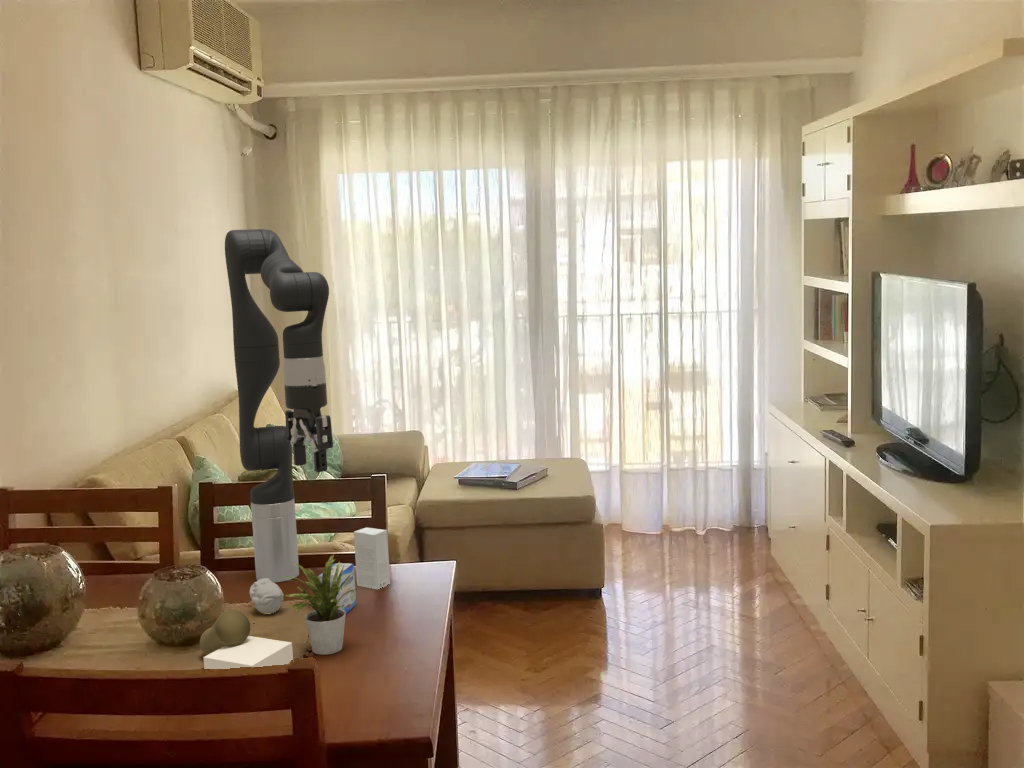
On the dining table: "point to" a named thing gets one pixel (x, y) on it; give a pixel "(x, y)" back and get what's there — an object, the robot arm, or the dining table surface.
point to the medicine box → (344, 586)
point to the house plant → (323, 609)
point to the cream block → (250, 654)
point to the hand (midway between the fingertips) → (310, 468)
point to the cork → (225, 631)
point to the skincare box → (372, 558)
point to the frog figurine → (266, 596)
